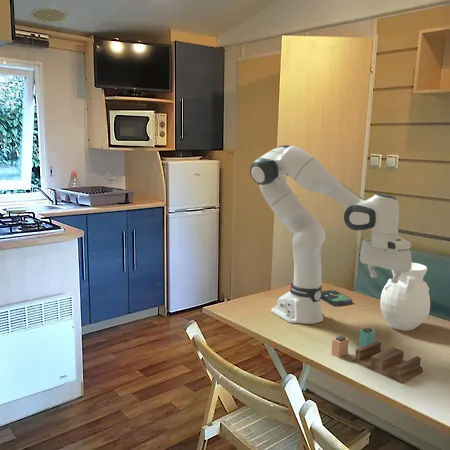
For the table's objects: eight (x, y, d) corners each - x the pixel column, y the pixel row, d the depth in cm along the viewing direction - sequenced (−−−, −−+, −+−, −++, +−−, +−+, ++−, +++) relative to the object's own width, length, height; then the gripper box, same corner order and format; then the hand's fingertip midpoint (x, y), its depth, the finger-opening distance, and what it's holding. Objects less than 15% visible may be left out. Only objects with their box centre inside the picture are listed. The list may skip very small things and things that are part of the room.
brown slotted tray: (352, 361, 155) (353, 348, 154) (373, 352, 163) (374, 339, 162) (401, 383, 141) (403, 369, 141) (422, 372, 149) (423, 358, 148)
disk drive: (314, 297, 221) (334, 307, 208) (314, 291, 221) (334, 301, 208) (332, 294, 226) (352, 304, 212) (332, 289, 225) (353, 298, 212)
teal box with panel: (358, 345, 168) (359, 329, 167) (367, 341, 171) (368, 326, 170) (365, 348, 166) (367, 332, 165) (374, 344, 169) (375, 329, 168)
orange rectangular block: (331, 354, 160) (332, 338, 159) (340, 350, 163) (341, 334, 162) (338, 357, 158) (339, 341, 157) (347, 354, 161) (348, 337, 160)
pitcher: (432, 337, 176) (439, 273, 171) (381, 333, 179) (386, 269, 175) (422, 319, 194) (428, 261, 189) (376, 315, 197) (380, 258, 193)
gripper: (356, 238, 169) (355, 275, 171) (401, 245, 151) (400, 287, 153) (368, 236, 172) (368, 273, 174) (415, 244, 154) (413, 285, 156)
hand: (383, 280), depth 163 cm, fingers open, 8 cm apart
